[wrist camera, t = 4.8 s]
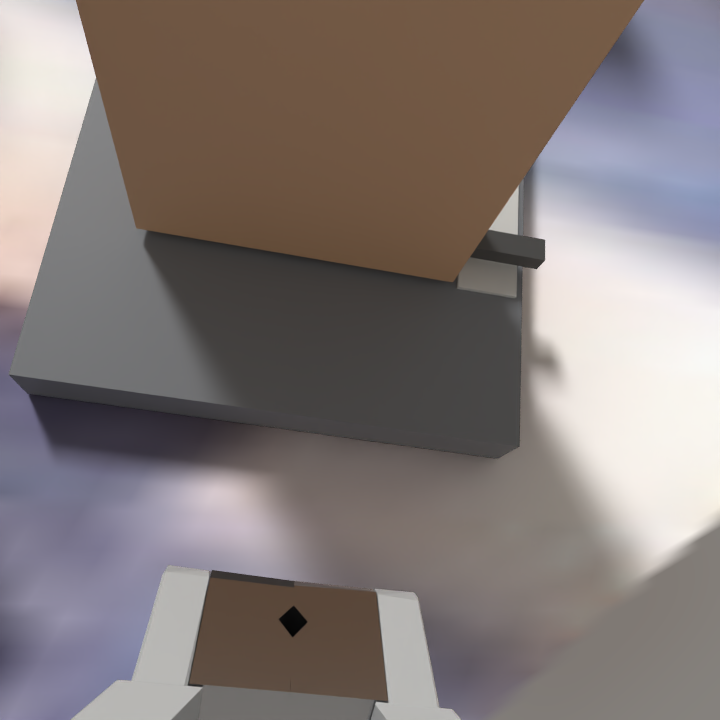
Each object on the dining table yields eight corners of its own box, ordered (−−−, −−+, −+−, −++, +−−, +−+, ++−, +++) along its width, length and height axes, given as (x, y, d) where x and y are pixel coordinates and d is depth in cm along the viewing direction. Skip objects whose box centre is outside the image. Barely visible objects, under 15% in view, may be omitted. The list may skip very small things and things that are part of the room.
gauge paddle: (533, 296, 18) (854, -34, 9) (136, 228, 17) (10, -246, 7) (534, 230, 19) (832, -141, 9) (152, 160, 17) (58, -351, 8)
